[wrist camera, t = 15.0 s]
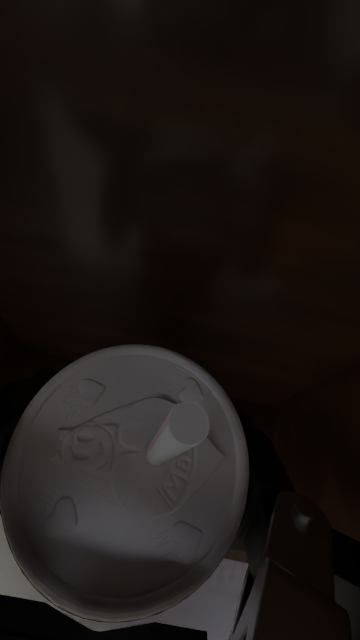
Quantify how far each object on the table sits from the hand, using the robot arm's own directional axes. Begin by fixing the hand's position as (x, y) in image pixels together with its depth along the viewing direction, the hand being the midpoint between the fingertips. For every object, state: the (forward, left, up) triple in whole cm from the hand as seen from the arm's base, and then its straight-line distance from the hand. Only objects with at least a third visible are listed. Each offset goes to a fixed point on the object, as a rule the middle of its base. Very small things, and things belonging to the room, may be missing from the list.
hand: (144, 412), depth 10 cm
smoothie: (-1, -1, -7) cm, 7 cm away
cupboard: (0, 0, -9) cm, 9 cm away
